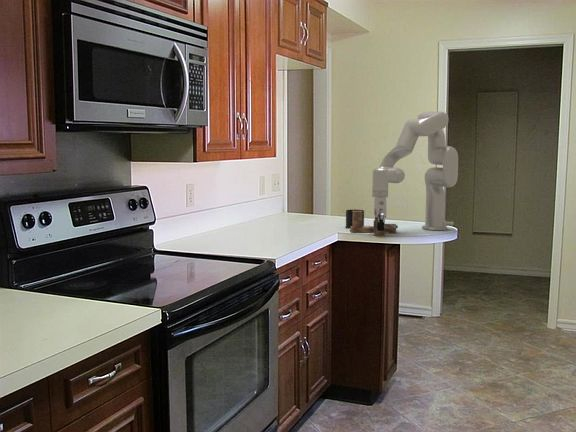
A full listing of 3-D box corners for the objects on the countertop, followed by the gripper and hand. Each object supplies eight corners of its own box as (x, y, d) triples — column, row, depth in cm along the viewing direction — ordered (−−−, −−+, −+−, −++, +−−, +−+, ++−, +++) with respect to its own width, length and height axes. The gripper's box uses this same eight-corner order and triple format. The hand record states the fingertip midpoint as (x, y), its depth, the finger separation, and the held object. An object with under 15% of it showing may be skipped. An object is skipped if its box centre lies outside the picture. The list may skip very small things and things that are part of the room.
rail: (395, 230, 314) (395, 210, 313) (397, 233, 307) (398, 212, 305) (350, 230, 314) (350, 210, 313) (351, 233, 307) (351, 212, 306)
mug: (368, 226, 329) (369, 209, 328) (359, 229, 319) (359, 212, 317) (352, 225, 334) (352, 208, 332) (342, 228, 323) (342, 210, 322)
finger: (383, 234, 304) (383, 218, 303) (384, 235, 300) (384, 219, 299) (373, 234, 304) (373, 218, 303) (374, 235, 300) (374, 219, 299)
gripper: (390, 195, 290) (389, 231, 293) (385, 192, 308) (384, 226, 310) (374, 195, 290) (373, 231, 293) (370, 192, 308) (369, 226, 310)
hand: (379, 229), depth 301 cm, fingers open, 9 cm apart
